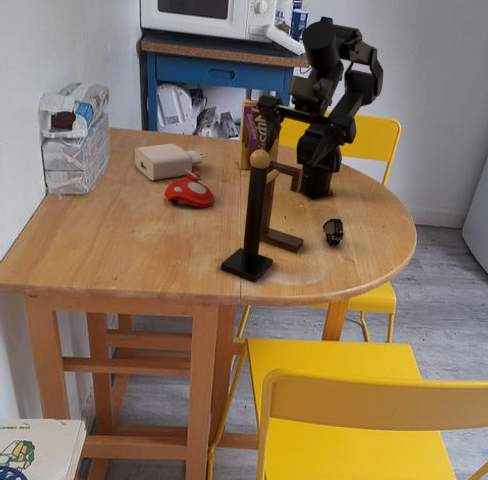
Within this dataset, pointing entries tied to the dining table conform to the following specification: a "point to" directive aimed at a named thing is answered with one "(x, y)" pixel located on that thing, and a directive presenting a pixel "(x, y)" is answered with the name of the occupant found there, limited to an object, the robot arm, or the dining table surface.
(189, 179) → the tracker holder
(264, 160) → the coat rack
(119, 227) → the dining table surface
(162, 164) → the charger
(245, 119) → the candy box
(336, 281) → the dining table surface
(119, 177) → the dining table surface
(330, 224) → the smartwatch
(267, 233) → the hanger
